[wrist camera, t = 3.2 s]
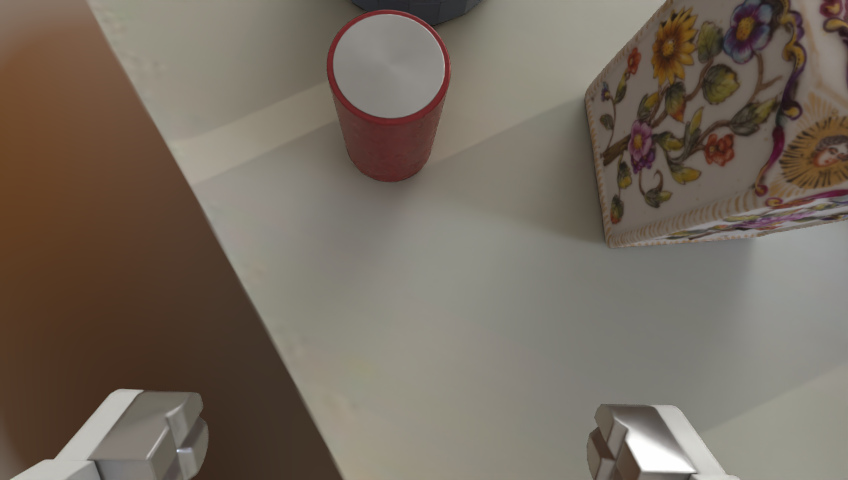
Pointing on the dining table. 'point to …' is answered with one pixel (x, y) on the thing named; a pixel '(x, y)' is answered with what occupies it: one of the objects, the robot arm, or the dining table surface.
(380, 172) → the can
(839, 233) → the dining table surface
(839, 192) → the decorative jar
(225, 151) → the dining table surface
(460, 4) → the bowl
